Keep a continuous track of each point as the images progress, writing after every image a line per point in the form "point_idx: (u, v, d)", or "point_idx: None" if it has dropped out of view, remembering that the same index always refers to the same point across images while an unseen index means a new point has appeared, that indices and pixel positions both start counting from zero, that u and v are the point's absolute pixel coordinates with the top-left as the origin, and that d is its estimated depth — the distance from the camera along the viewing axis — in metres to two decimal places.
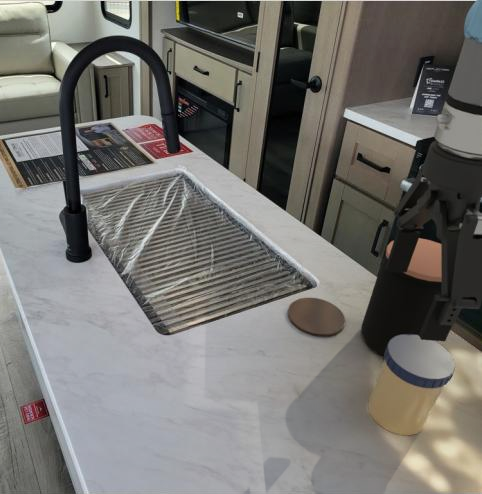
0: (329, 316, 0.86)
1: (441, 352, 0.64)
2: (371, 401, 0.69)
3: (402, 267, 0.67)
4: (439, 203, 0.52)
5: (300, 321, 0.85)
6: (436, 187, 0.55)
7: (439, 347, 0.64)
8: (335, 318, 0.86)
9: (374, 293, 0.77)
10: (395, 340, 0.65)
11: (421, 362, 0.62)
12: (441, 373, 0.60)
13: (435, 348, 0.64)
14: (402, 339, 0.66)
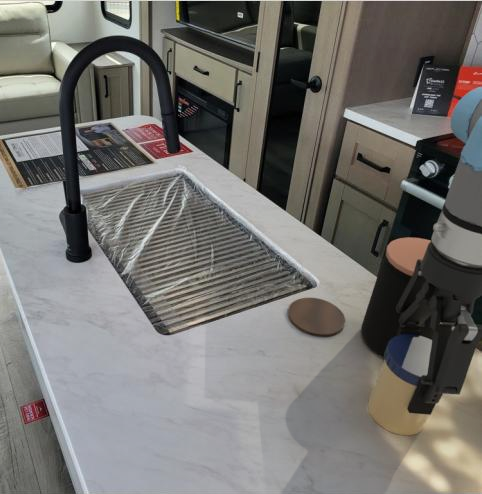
0: (329, 316, 0.86)
1: None
2: (371, 401, 0.69)
3: None
4: (436, 299, 0.56)
5: (300, 321, 0.85)
6: None
7: None
8: (335, 318, 0.86)
9: (374, 293, 0.77)
10: (395, 340, 0.65)
11: (421, 362, 0.62)
12: None
13: None
14: (402, 339, 0.66)
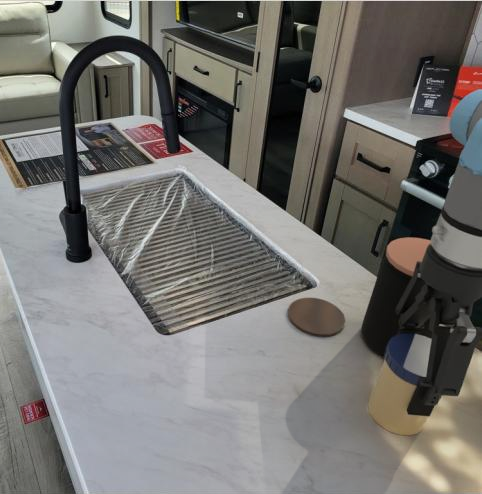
0: (329, 316, 0.86)
1: (404, 338, 0.65)
2: (371, 401, 0.69)
3: None
4: (435, 301, 0.56)
5: (300, 321, 0.85)
6: None
7: (397, 338, 0.66)
8: (335, 318, 0.86)
9: (374, 293, 0.77)
10: (410, 369, 0.61)
11: None
12: None
13: (401, 341, 0.65)
14: (404, 363, 0.62)
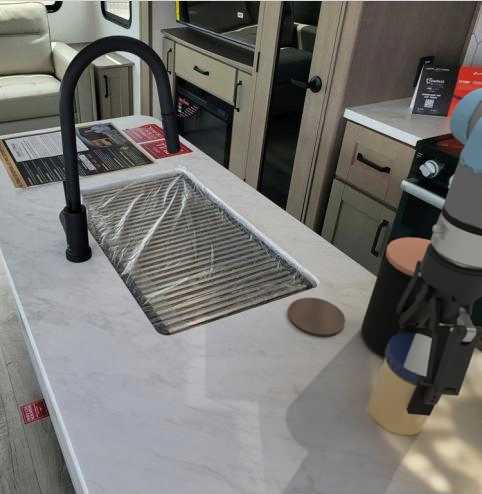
0: (329, 316, 0.86)
1: (404, 360, 0.62)
2: (371, 401, 0.69)
3: None
4: (435, 301, 0.56)
5: (300, 321, 0.85)
6: None
7: (407, 366, 0.61)
8: (335, 318, 0.86)
9: (374, 293, 0.77)
10: None
11: (417, 346, 0.64)
12: (398, 338, 0.65)
13: (410, 364, 0.61)
14: None
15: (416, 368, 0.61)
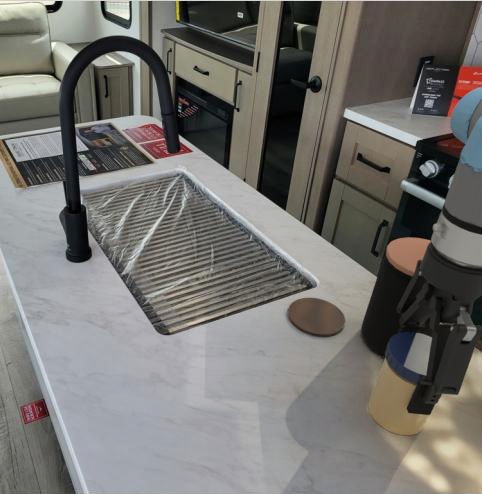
0: (329, 316, 0.86)
1: None
2: (371, 401, 0.69)
3: None
4: (435, 300, 0.56)
5: (300, 321, 0.85)
6: None
7: None
8: (335, 318, 0.86)
9: (374, 293, 0.77)
10: (424, 336, 0.65)
11: (411, 353, 0.63)
12: (410, 365, 0.61)
13: None
14: None
15: None
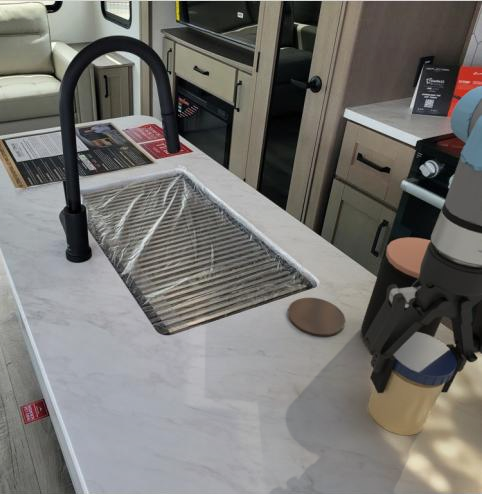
0: (329, 316, 0.86)
1: (433, 342, 0.64)
2: (371, 401, 0.69)
3: None
4: (470, 302, 0.56)
5: (300, 321, 0.85)
6: (439, 293, 0.56)
7: (428, 337, 0.65)
8: (335, 318, 0.86)
9: (374, 293, 0.77)
10: None
11: (428, 360, 0.62)
12: (449, 364, 0.61)
13: (426, 339, 0.65)
14: None
15: (420, 336, 0.65)
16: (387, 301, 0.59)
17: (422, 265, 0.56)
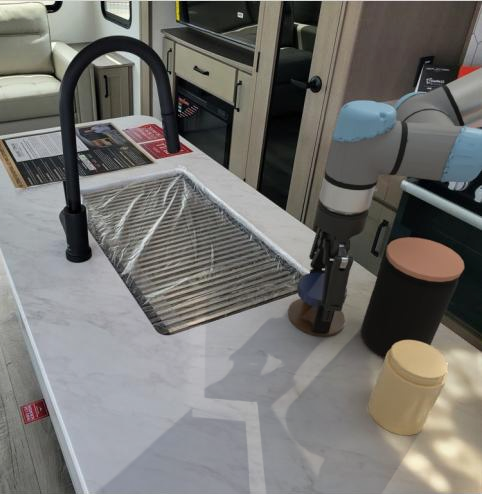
0: None
1: (309, 277, 0.85)
2: (371, 401, 0.69)
3: None
4: None
5: (300, 321, 0.85)
6: None
7: (304, 277, 0.85)
8: (335, 318, 0.86)
9: (374, 293, 0.77)
10: (317, 297, 0.81)
11: None
12: None
13: (307, 279, 0.85)
14: (312, 294, 0.81)
15: (304, 281, 0.84)
16: (337, 269, 0.73)
17: (337, 231, 0.73)
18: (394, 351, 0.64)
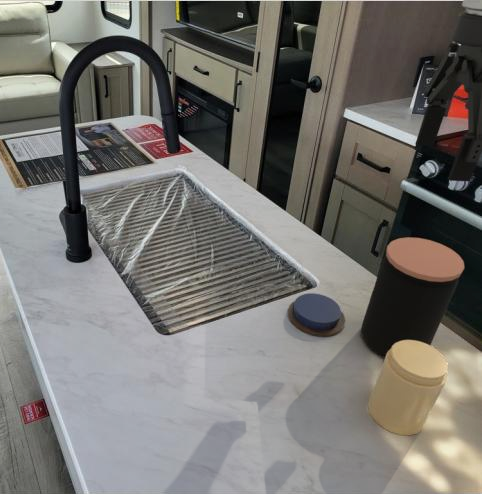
0: None
1: (304, 298, 0.88)
2: (371, 401, 0.69)
3: None
4: None
5: None
6: None
7: (300, 298, 0.88)
8: None
9: (374, 293, 0.77)
10: (312, 318, 0.83)
11: (324, 307, 0.86)
12: (327, 299, 0.88)
13: (303, 300, 0.87)
14: (307, 315, 0.84)
15: (300, 302, 0.87)
16: None
17: None
18: (394, 351, 0.64)
